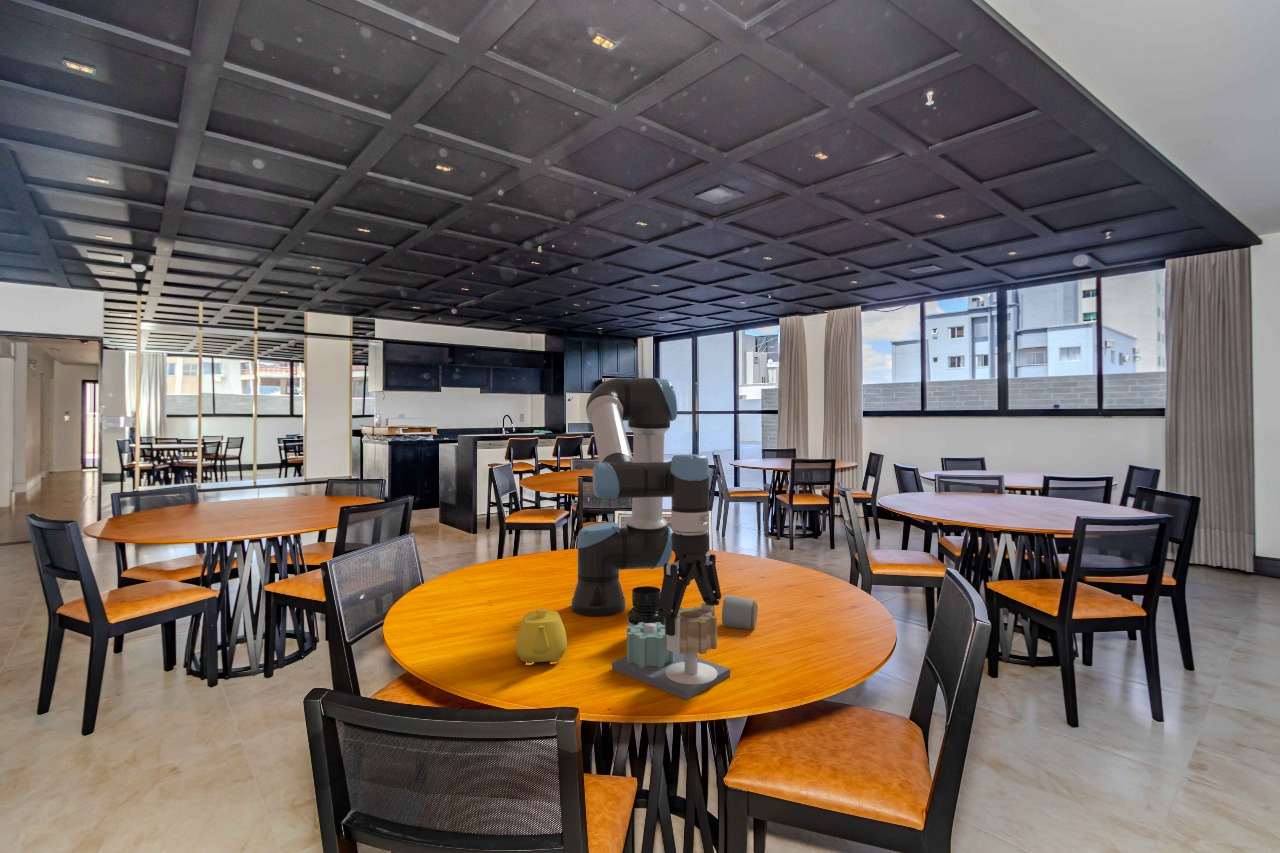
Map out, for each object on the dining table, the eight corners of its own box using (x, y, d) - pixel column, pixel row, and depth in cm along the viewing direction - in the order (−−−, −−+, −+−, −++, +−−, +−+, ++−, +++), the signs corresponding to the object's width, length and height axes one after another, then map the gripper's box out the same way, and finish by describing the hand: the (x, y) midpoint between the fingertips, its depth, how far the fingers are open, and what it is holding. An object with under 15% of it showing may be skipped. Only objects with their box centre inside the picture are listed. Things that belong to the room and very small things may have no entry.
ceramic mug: (754, 633, 141) (754, 602, 141) (721, 630, 144) (721, 599, 144) (759, 620, 151) (759, 591, 151) (728, 617, 154) (728, 588, 154)
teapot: (568, 675, 118) (567, 622, 118) (513, 679, 116) (512, 625, 116) (565, 643, 135) (565, 597, 135) (518, 646, 134) (518, 599, 134)
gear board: (610, 668, 121) (610, 627, 121) (655, 649, 131) (655, 612, 131) (689, 701, 106) (689, 654, 106) (733, 677, 116) (732, 635, 116)
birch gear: (655, 645, 114) (654, 614, 115) (687, 632, 122) (686, 603, 122) (695, 658, 108) (694, 626, 108) (726, 644, 115) (726, 614, 115)
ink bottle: (629, 633, 142) (628, 584, 142) (664, 633, 141) (664, 584, 142) (627, 648, 132) (626, 595, 132) (665, 648, 132) (665, 596, 132)
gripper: (667, 542, 104) (668, 665, 104) (738, 526, 120) (739, 633, 120) (637, 537, 109) (638, 654, 109) (709, 523, 126) (710, 625, 125)
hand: (691, 643), depth 115 cm, fingers closed on birch gear, 10 cm apart
